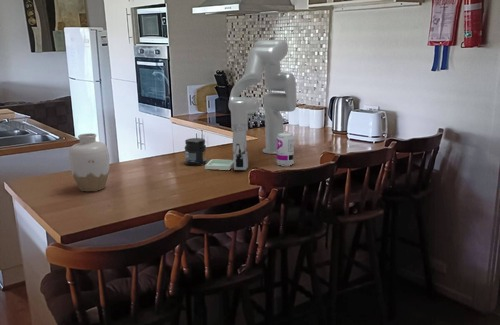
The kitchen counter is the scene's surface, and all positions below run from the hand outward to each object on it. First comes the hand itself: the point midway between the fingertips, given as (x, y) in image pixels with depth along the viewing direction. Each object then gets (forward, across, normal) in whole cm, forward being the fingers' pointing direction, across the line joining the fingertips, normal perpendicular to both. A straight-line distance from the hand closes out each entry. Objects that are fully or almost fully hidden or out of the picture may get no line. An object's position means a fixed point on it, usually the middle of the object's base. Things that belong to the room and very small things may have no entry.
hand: (241, 164), depth 226 cm
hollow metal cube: (+2, 0, 0) cm, 2 cm away
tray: (+2, -3, -11) cm, 11 cm away
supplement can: (+3, -12, +19) cm, 23 cm away
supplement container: (+3, -9, -25) cm, 27 cm away
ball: (-6, 0, 0) cm, 6 cm away
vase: (+2, +37, -56) cm, 67 cm away
